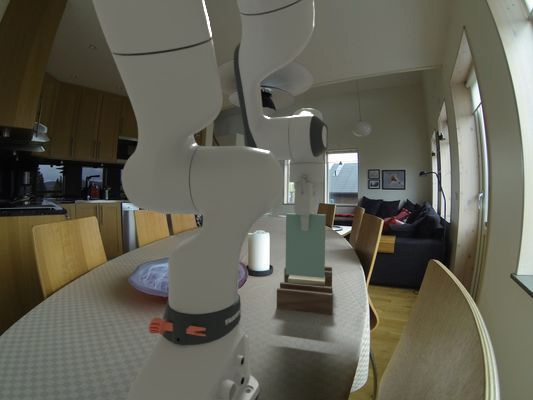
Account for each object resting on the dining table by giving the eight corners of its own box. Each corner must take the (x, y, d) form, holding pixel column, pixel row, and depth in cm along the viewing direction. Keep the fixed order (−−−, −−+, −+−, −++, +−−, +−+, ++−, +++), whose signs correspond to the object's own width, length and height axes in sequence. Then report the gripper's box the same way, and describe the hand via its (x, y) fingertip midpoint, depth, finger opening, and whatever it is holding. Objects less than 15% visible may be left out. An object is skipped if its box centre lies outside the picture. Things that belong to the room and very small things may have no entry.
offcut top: (324, 288, 69) (324, 281, 69) (288, 285, 72) (288, 278, 72) (324, 283, 74) (325, 276, 74) (290, 279, 76) (290, 273, 76)
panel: (324, 278, 65) (325, 215, 64) (285, 274, 67) (286, 213, 67) (324, 275, 67) (325, 214, 66) (286, 272, 69) (287, 213, 69)
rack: (332, 321, 63) (332, 287, 63) (276, 314, 66) (276, 281, 66) (331, 294, 80) (332, 266, 79) (286, 289, 83) (287, 263, 83)
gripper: (317, 173, 55) (316, 237, 56) (320, 177, 75) (319, 224, 76) (288, 173, 57) (287, 235, 57) (298, 177, 76) (298, 223, 77)
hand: (305, 229), depth 67 cm, fingers closed on panel, 2 cm apart
